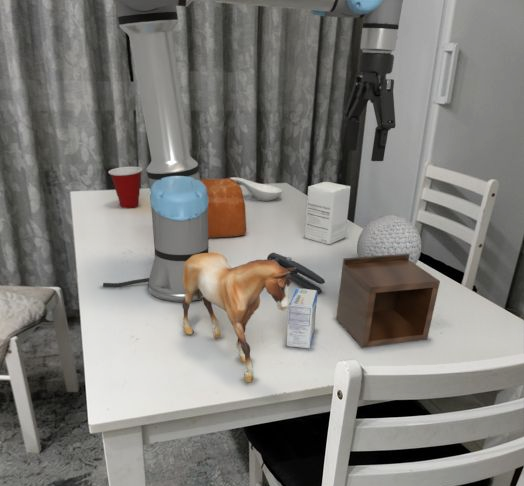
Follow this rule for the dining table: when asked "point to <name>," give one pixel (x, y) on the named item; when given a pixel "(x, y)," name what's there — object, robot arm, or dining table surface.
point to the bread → (225, 208)
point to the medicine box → (301, 318)
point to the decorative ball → (389, 238)
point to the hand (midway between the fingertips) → (363, 155)
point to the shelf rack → (386, 300)
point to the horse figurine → (233, 292)
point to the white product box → (327, 212)
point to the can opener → (299, 269)
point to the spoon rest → (260, 189)
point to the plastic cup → (127, 185)
